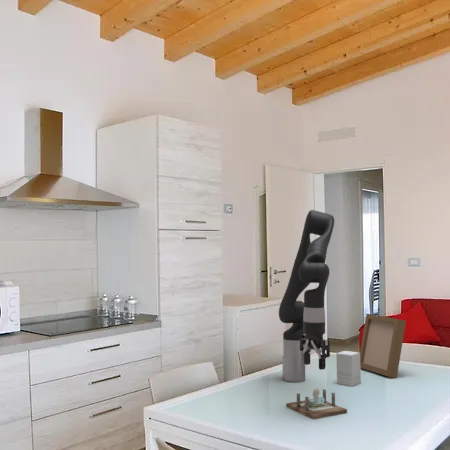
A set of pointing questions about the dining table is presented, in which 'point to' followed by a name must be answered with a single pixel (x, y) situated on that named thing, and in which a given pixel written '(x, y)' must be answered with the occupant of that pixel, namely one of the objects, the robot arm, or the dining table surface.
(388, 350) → the photo frame
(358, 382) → the supplement box
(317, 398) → the pacifier
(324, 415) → the pin tray
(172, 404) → the dining table surface
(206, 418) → the dining table surface
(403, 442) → the dining table surface
